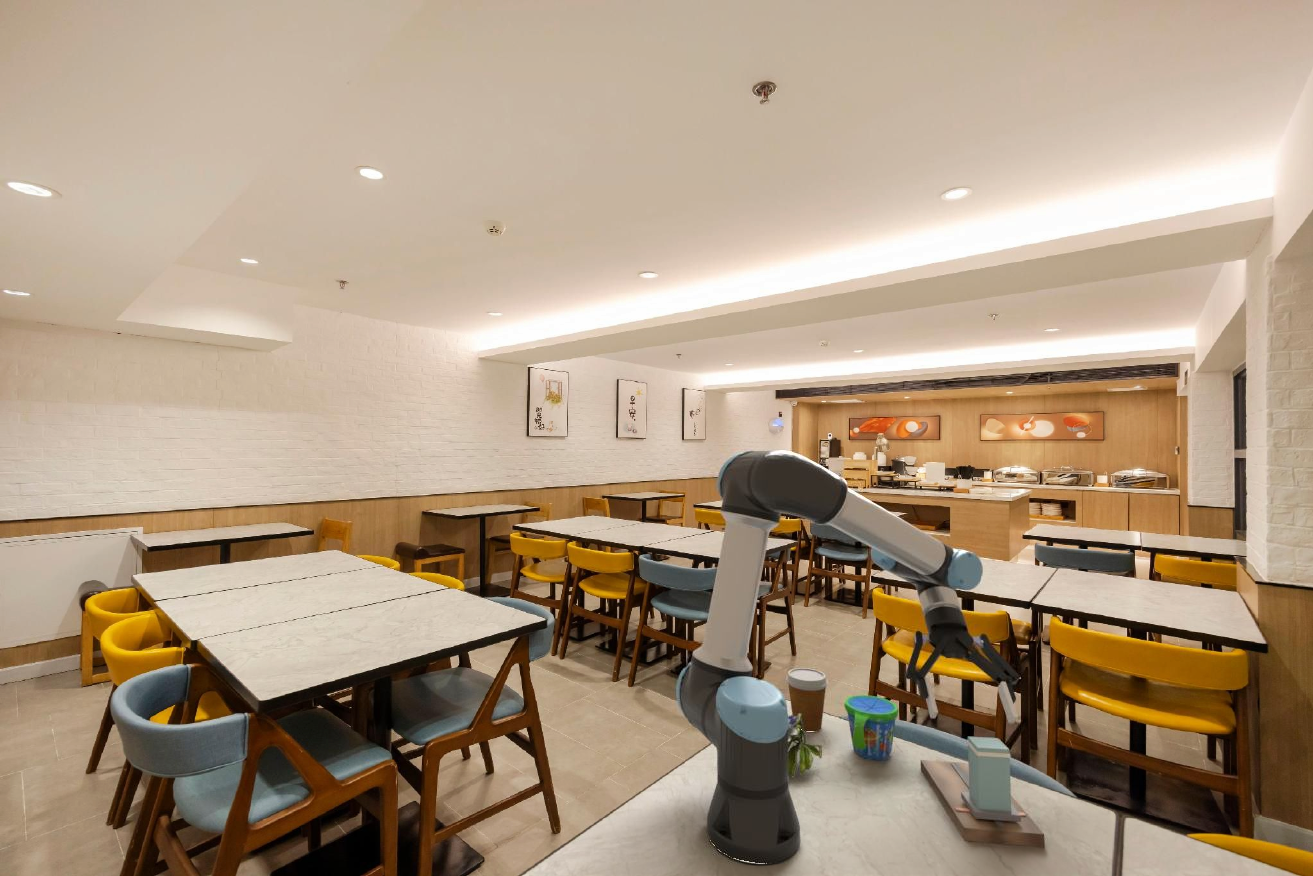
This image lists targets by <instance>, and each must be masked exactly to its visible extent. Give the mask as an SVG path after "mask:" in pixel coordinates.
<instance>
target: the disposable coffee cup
mask: <svg viewBox="0 0 1313 876" xmlns="http://www.w3.org/2000/svg"><path fill="white" fill-rule="evenodd" d="M785 679H786V680H785V681H787V684H788V691H789V692H788V693H789V700H790V706H791V707H790V708H791V715H794V716H795V717H797V716H798V714H799V713H800V714H802V720H803V726H804V731H817V732H819V730H820V729H821V730H822V727H823V726H822V725H823V718H824V717H823V715H824V707H825V706H824V705H825V698H826V688H827V686H828V684H829V681H828V679H827V676H826V674H825V673H824V672H823V671H820V670H817V669H813V668H808V667H798V668H792V669H789V670H788V671H787V675H786V677H785ZM800 726H801V725H800ZM801 729H802V726H801ZM821 730H820V731H821Z"/></svg>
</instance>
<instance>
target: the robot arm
mask: <svg viewBox="0 0 1313 876" xmlns="http://www.w3.org/2000/svg"><path fill="white" fill-rule="evenodd" d="M717 475H718V476H717V480H716V481H717V483H716V485H717V491H718V494H719V495H720V497H721V500H722V501H721V502H722V503H721V508H720V514H721V516H722V518H723V519H724V521H725V527H724V528H725V529H724V532H723V537H722V543H721V549H720V555H719V559H718V564H717V567H716V568H717V569H716V575H715V579H714V584H713V589H712V590H713V591H712V594H711V599H710V604H709V609H708V615H707V621H706V624H705V631H704V635H703V641H702V644H701V645H700V646H699V647H698V648H696V649H695V650H693V652H692V656H691V660H690V662H689V663H688V664H687V665H686V666H685V667H683V669H682V670H681V672H680V673H679V675H678V678H677V681H676V687H675V688H676V689H675V695H676V701H677V704H678V707H679V709H680V711H681V712H682V714H683V715H684V717H685V718H686V719H687V721H688V723H689V724H691V726H693V727H694V728H695V729H697V730H698V731H699V732H700V733H701V734H702V735H703V736H704V737H705V738H706V739H707V740H708V741H709V742H710V743H711V744H712V745H713V746H714V748H715V749H716V757H717V758H716V759H717V760H716V762H717V763H716V768H717V769H716V770H717V771H716V773H717V777H716V778H717V782H716V786H715V788H714V792H713V795H712V797H711V801H710V804H709V807H708V811H707V816H706V834H707V833H708V835H707V837H708V836H709V838H710V840H711V842H712V843H713V844H714V845H715V847H716V848H717V849H719V850H720V851H721V852H722V853H721V852H720V851H719V852H720V853H721V854H723V853H725V854H727V855H728V856H730V857H732V858H736V859H739V860H744V861H749V862H755V863H765V864H764V865H771V864H770V863H773V864H777V862H778V863H781V862H784V861H786V860H788V859H789V858H791V857H792V856H794V855H795V854H796V852H797V851H798V850H799V847H800V845H801V827H800V826H801V825H800V820H799V817H798V815H797V811H796V809H795V804H794V802H793V798H792V796H791V792H790V790H789V773H788V751H789V750H788V726H789V718H788V717H789V713H788V705H787V699H786V698H785V695H784V694H783V692H782V691H781V690H779V688H778V687H777V686H775V685H774V684H772V683H771V682H768V681H766V680H764V679H761V680H760V679H759V680H758V678H757V677H752V676H753V675H752V674H753V670H754V669H753V668H754V667H753V665H752V663H751V662H750V659H749V658H748V650H749V646H750V645H749V644H750V640H751V633H752V628H753V624H754V619H755V618H754V617H755V612H756V607H757V602H758V596H759V590H760V585H761V579H762V573H763V569H764V564H765V558H766V553H767V547H768V542H769V535H770V532H771V531H772V530H773V529H775V528H776V527H778V526H779V525H780V520H781V516H782V514H786V515H790V516H795V517H798V518H799V517H800V518H803V519H806V520H807V521H810V522H812V523H814V524H815V525H818V526H819V525H820V526H824V525H829V526H832V527H833V528H835V529H837V530H838V531H841V532H842V533H844V534H846V535H848V536H850V537H851V538H853V539H855V540H857V541H859V542H860V543H862V544H864V545H866V546H868V547H870V548H871V550H870V557H871V558H870V559H871V560H872V562H873V563H874V564H875V565H876V566H878V567H880V569H882V570H883V571H887V572H888V573H890V574H892V575H894V576H897V577H899V578H900V579H902V580H905V581H906V583H910V584H912V585H913V586H914V587H915V588H916V591H917V595H918V600H919V603H920V607H921V611H922V613H923V617H924V622H925V626H926V629H927V632H928V634H927V633H924V634H923V633H922V632H921V630H916V631H915V634H914V636H913V649H912V653H911V656H910V660H909V662H908V665H907V668H906V670H905V674H904V677H905V678H906V679H907V680H913V681H914V683H915V684H916V686H917V688H918V692H919V693H918V694H919V696H920V698H921V699H925V701H926V705H927V710H928V713H929V717H930V719H936V717H937V716H938V714H939V710H938V706H937V702H936V700H935V695H934V691H933V686H932V682H931V679H930V677H926V676H927V675H928V674H929V672H930V671H931V669H932V668H933V667H934V665H935V664H936V662H937V661H938V660H939V659H940V657H941V656H943V657H945V659H952V658H953V659H958V660H962V659H963V658H964V659H966V660H967V661H968V662H969V663H973V664H974V665H975V666H976V667H977V668H979V669H980V670H981V671H982V672H984V674H986V676H988V677H989V678H991V679H992V680H993V681H994V682H995V683H997V684H998V686H997V692H998V695H999V698H1000V701H1001V704H1002V707H1003V709H1004V712H1005V716H1006V719H1007V722H1008V724H1014V723H1015V722H1016V720H1018V718H1019V716H1018V713H1017V710H1016V708H1015V705H1014V704H1015V702H1016V701H1017V697H1016V693H1015V690H1014V688H1013V686H1015V685H1016V684H1017V683H1018V681H1019V680H1020V678H1021V677H1020V675H1019V673H1017V671H1016V670H1015V669H1014V668H1013V667H1012V666H1011V664H1010V663H1009V662H1007V660H1006V659H1005V658H1004V657H1003V656H1002V654H1001V653H1000V652H999V651H998V650H997V649H996V648H995V647H994V646H993V644H991V642H990V639H989V637H988V635H987V634H986V633H982V634H980V636H972V635H971V633H970V632H969V630H968V625H967V622H966V618H965V616H964V613H963V611H962V606H961V603H960V600H959V598H958V595H957V591H956V590H962V591H971V590H973V589H975V588H977V586H979V585H980V582H981V581H982V580H981V579H982V576H983V572H984V570H983V564H982V561H981V559H980V557H979V556H978V555H977V554H976V553H974V552H972V551H968V550H965V549H963V548H958V549H957V548H954V547H952V546H949V545H948V544H946V543H945V542H943V541H941V540H939V539H937V538H935V537H934V536H932V535H930V534H928V533H926V532H924V531H923V530H921V529H920V528H918V527H916V526H914V525H913V524H911V523H909V522H908V521H906V520H905V519H902V518H901V517H899V516H897V515H895V513H893V512H890V511H889V510H887V509H885V508H883V507H882V506H880V505H878V504H877V503H874V502H873V501H871V500H870V499H868V498H866V497H864V496H863V495H861V494H859V493H858V492H855V491H854V490H852V489H851V488H849V485H848V483H847V481H846V480H845V479H844V477H841V476H840V475H838V474H836V473H835V472H833V471H831V470H830V469H827V468H825V467H824V466H822V465H821V464H819V463H818V462H815V461H814V460H811V459H809V458H808V457H806V456H804V455H801V454H799V453H797V452H794V451H791V450H790V451H789V450H785V449H775V450H747V451H743V452H741V453H737V454H735V455H732V456H731V457H730V458H728V459H727V460H726V461H725V462H724V463H723V465H722V466H721V468H720V470H719V472H718V474H717ZM927 642H928V644H929V645H931V646H932V647H933V648H934V649H933V651H932V652H931V654H930V655H929V657H928V658H927V659H926V661H925V662H924V663H923V665H922V666H921V668H920V669H919V671H917V670H916V667H917V664H918V660H919V657H920V654H921V651H922V647H923V646H925V645H926V643H927ZM973 644H974V645H975V646H976V647H977V648H978V649H980V650H981V651H982V653H983V654H984V655H983V654H982V653H980V651H979V650H978V649H977V648H976V647H975V646H974V645H973ZM969 652H970V653H969ZM709 838H708V839H709ZM710 840H709V841H710ZM711 842H710V843H711ZM712 843H711V844H712ZM715 847H714V848H715ZM716 848H715V849H716ZM717 849H716V850H717ZM728 856H727V857H728ZM730 857H729V858H730ZM732 858H731V859H732ZM766 863H767V864H766Z"/></svg>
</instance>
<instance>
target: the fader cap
mask: <svg viewBox="0 0 1313 876" xmlns="http://www.w3.org/2000/svg"><path fill="white" fill-rule="evenodd" d="M966 744H967V753H968V754H967V756H968V758H967V759H968V762H967V763H969V793H968V792H961V798H962V800H963V801H964V803H965V804H966V805H967V807H968V808H969V810H970V811H971V813H972V814H973V816H974V817H975V818H976V819H989V820H1002V821H1015V822H1021V815H1020V814H1019V813H1018V812H1017V810H1016V809H1015V808H1014V807H1013V806H1012V804H1011V796H1012V793H1011V792H1012V789H1011V760H1010V759H1011V756H1012V755H1011V753H1010V749H1009V747H1007V745H1005V744H1004V742H1002V741H1001V739H1000V738H997V737H981V736H967V740H966Z"/></svg>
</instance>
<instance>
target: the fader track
mask: <svg viewBox="0 0 1313 876" xmlns="http://www.w3.org/2000/svg"><path fill="white" fill-rule="evenodd" d="M920 771H921V773H922V775H923V776H924V778H925V779H926V781H927V783H928V784H929V786H930V788H931V789H932V791H933V792H934V793H935V795H936V797H937V798H938V800H939V803H940V804H941V805H942V807H943V808H944V810H945V811H946V813H947V814H948V815H947V816H949V818H950V819H951V821H952V822H953V824H954V825H955V827H956V829H957V830H958V832H959V834H960V836H961V837H962V838H963V840H964V841H966V842H977V843H989V844H1001V845H1011V846H1013V845H1016V846H1024V847H1025V846H1026V847H1039V848H1045V846H1046V844H1045V841H1046V840H1045V832H1043V831H1042V830H1041V829H1040V827H1039V826H1038V825H1037V824H1036V823H1035V821H1034V820H1033V819H1032V818H1031V817H1030V816H1029V814H1028V813H1027V812H1026V811H1025V810H1024V809H1023V807H1022V806H1021V805H1020V804H1019V803H1018V802H1017V800H1016V799H1015V798H1014V797H1013V795H1011V804H1012V806H1013V807H1014V808H1015V809H1016V810H1017V812H1018V813H1019V814H1020V815H1021V822H1015V821H1002V820H989V819H976V818H975V817H974V816H973V814H972V813H971V811H970V810H969V808H968V807H967V805H966V804H965V803H964V801H963V800H962V798H961V792H968V793H969V763H968V762H959V761H958V762H956V761H944V760H943V761H941V760H930V759H929V760H928V759H920Z"/></svg>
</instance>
